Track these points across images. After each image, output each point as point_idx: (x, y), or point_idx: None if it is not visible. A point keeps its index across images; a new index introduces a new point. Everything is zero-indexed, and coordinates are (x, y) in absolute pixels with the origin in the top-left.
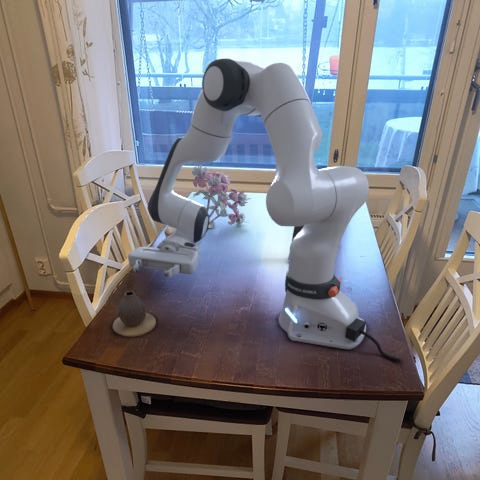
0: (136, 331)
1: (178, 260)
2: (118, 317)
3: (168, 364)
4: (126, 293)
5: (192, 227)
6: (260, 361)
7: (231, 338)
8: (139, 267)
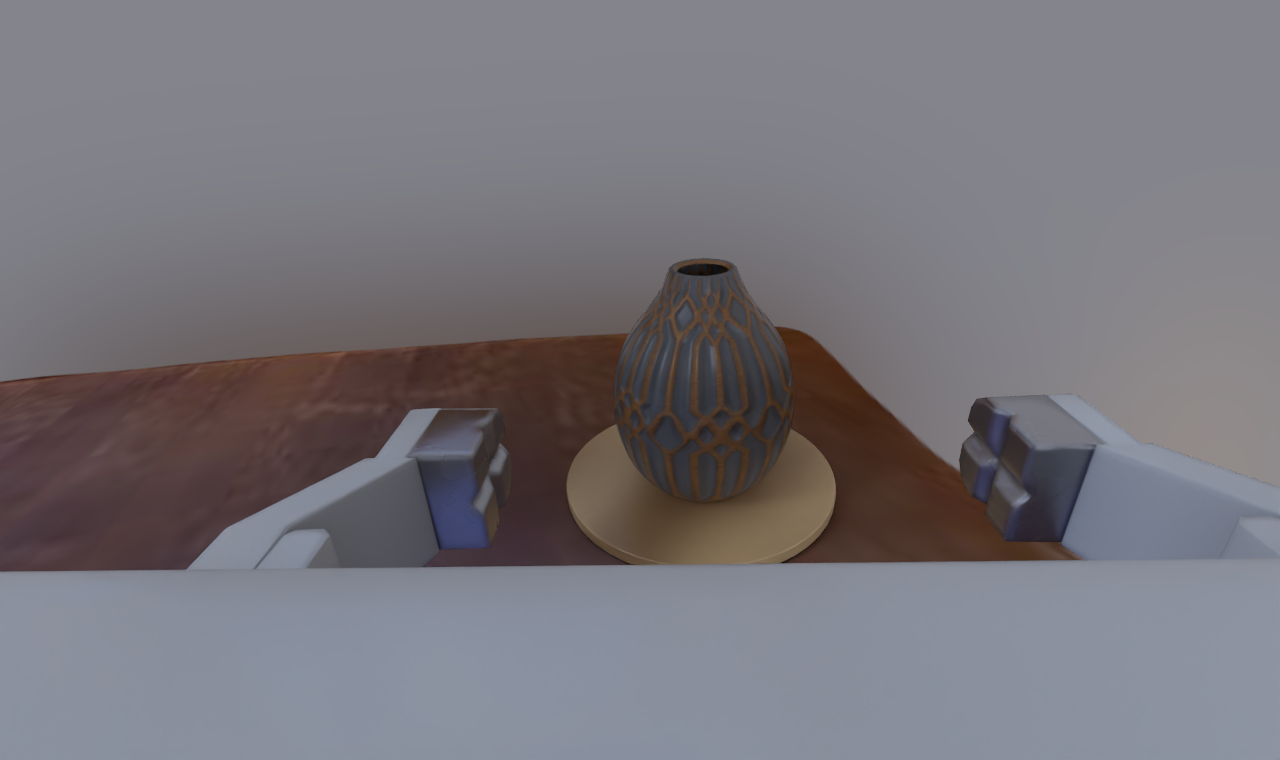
0: None
1: (127, 616)
2: (834, 484)
3: (434, 366)
4: (740, 287)
5: None
6: (15, 437)
7: (72, 518)
8: (1001, 445)
